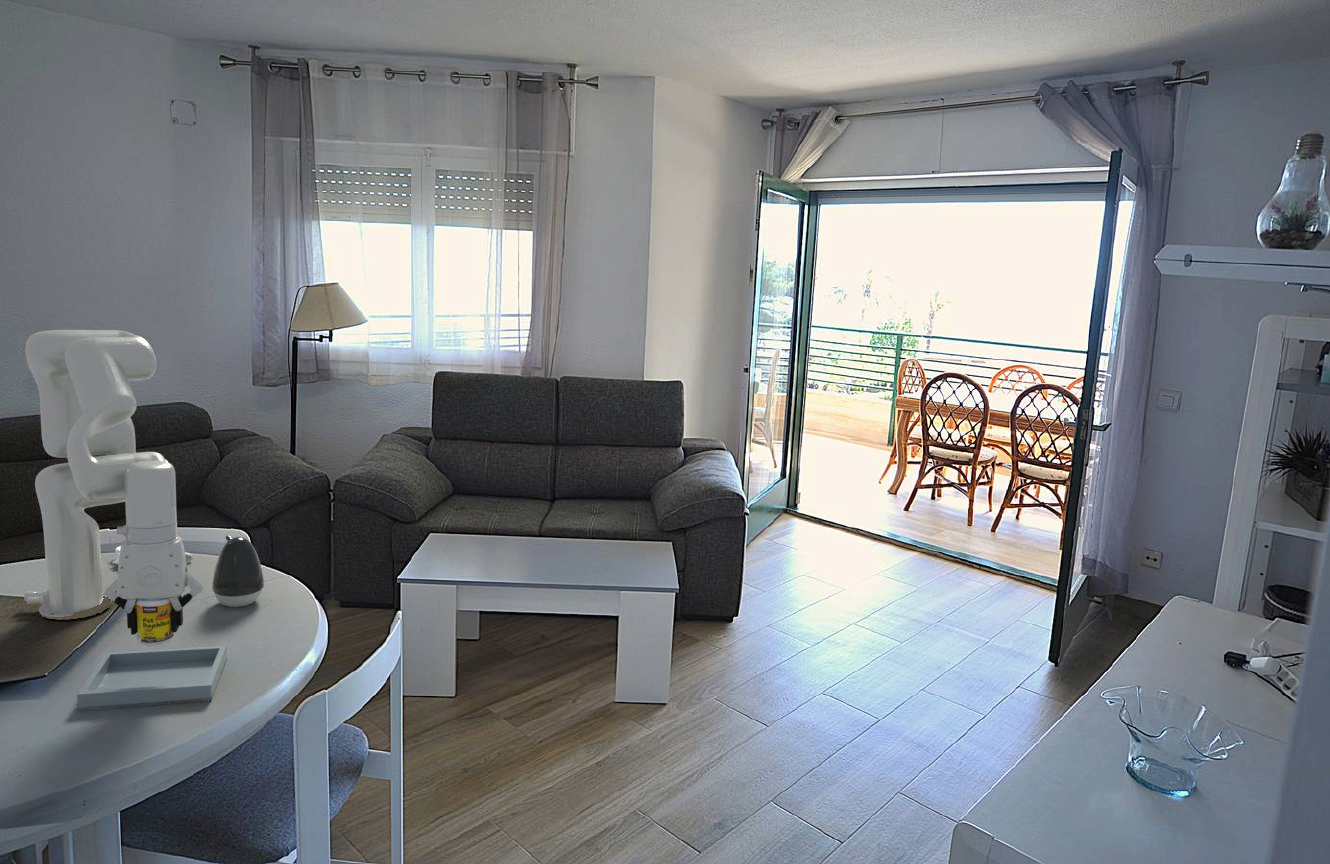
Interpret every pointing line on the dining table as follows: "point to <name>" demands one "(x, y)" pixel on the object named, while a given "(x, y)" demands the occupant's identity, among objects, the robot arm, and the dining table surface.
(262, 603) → the dining table surface
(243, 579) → the black egg-shaped figure
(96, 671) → the tray
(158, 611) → the supplement bottle
